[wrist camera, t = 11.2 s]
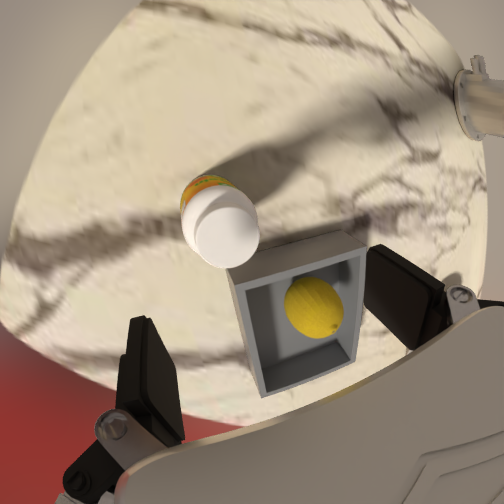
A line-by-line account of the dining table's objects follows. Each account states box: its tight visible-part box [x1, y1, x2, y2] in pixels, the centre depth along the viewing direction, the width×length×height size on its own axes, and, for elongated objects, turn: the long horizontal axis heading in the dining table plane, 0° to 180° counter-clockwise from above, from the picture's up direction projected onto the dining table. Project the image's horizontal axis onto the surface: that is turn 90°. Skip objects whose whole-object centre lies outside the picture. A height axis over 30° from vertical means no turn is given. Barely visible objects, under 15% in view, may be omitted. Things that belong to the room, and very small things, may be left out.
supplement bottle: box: [180, 175, 260, 268], centre depth 21 cm, size 5×5×10 cm
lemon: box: [284, 277, 344, 339], centre depth 27 cm, size 6×6×8 cm
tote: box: [226, 230, 367, 398], centre depth 31 cm, size 18×14×5 cm
